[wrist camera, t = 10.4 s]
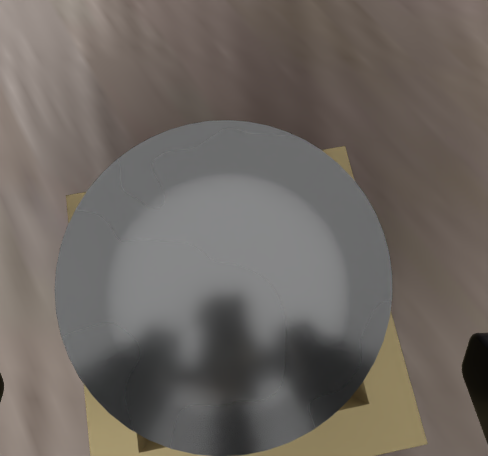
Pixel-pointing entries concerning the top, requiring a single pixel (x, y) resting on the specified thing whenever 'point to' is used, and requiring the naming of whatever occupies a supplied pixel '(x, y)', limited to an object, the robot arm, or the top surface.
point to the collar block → (325, 435)
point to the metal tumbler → (223, 288)
